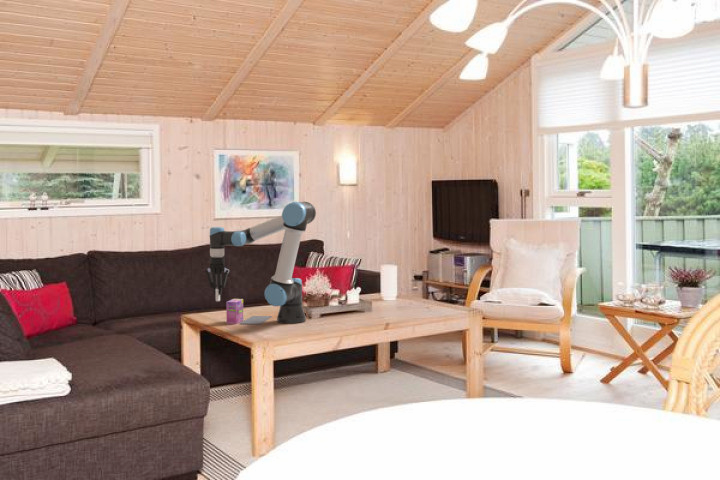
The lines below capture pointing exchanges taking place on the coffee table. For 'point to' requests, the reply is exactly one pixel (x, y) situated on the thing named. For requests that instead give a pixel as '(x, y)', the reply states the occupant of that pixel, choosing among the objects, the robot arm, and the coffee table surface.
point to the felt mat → (256, 320)
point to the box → (234, 311)
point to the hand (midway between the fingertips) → (217, 300)
